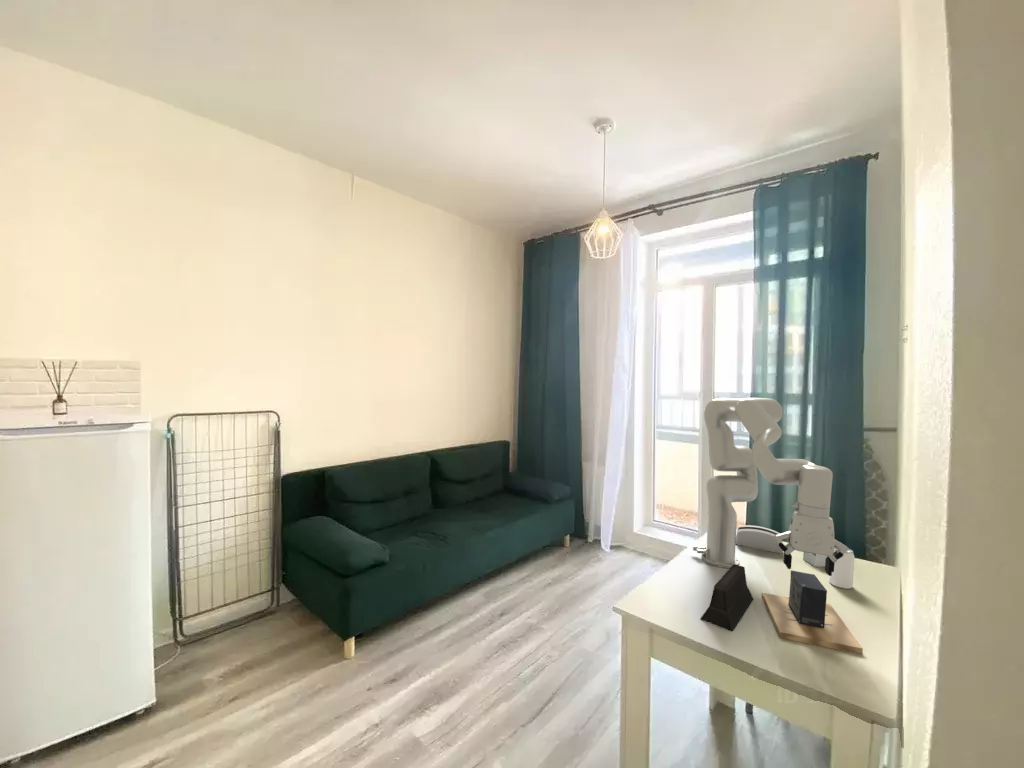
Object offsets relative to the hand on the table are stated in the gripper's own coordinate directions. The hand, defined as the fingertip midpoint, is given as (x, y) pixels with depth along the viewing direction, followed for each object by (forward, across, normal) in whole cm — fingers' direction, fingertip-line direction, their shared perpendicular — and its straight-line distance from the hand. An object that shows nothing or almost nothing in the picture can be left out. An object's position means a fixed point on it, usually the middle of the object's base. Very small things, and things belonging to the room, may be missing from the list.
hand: (807, 570), depth 123 cm
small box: (+13, 0, 0) cm, 13 cm away
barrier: (+15, -19, -1) cm, 25 cm away
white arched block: (+16, -1, +54) cm, 57 cm away
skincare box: (+16, +16, +47) cm, 52 cm away
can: (+15, +18, +30) cm, 38 cm away
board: (+15, 0, -1) cm, 15 cm away
